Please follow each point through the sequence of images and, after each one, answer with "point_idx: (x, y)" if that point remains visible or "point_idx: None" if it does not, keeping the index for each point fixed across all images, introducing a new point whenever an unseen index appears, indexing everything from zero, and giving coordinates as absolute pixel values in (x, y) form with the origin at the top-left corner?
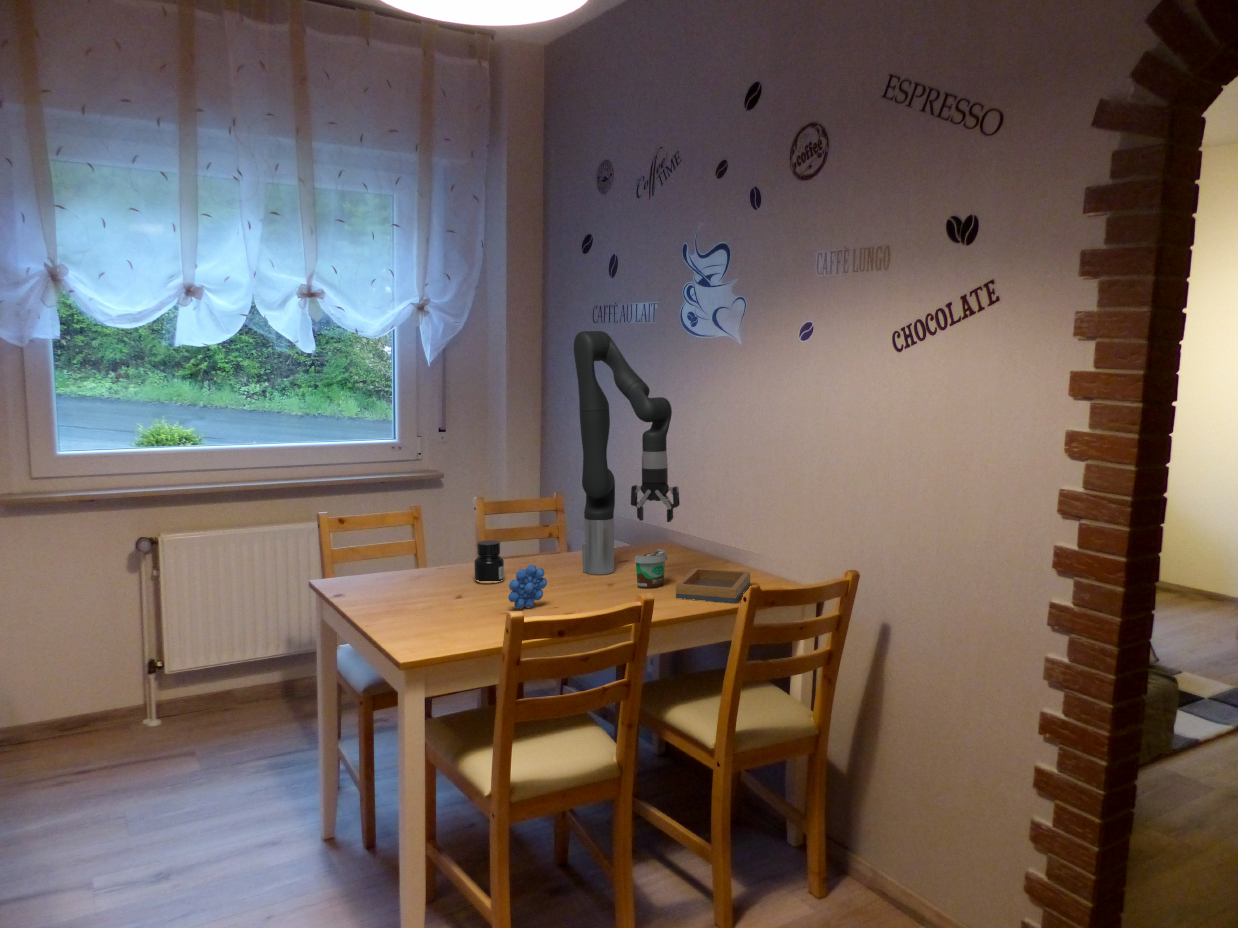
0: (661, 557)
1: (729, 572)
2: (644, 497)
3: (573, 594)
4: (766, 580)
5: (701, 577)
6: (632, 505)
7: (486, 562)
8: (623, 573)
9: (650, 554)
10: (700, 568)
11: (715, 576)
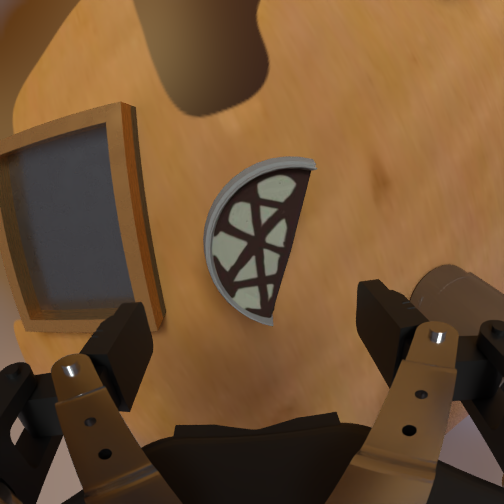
0: (210, 220)
1: (60, 318)
2: (417, 408)
3: (422, 56)
4: (40, 359)
5: None
6: (488, 321)
7: None
8: None
9: (274, 246)
10: None
11: (98, 311)
